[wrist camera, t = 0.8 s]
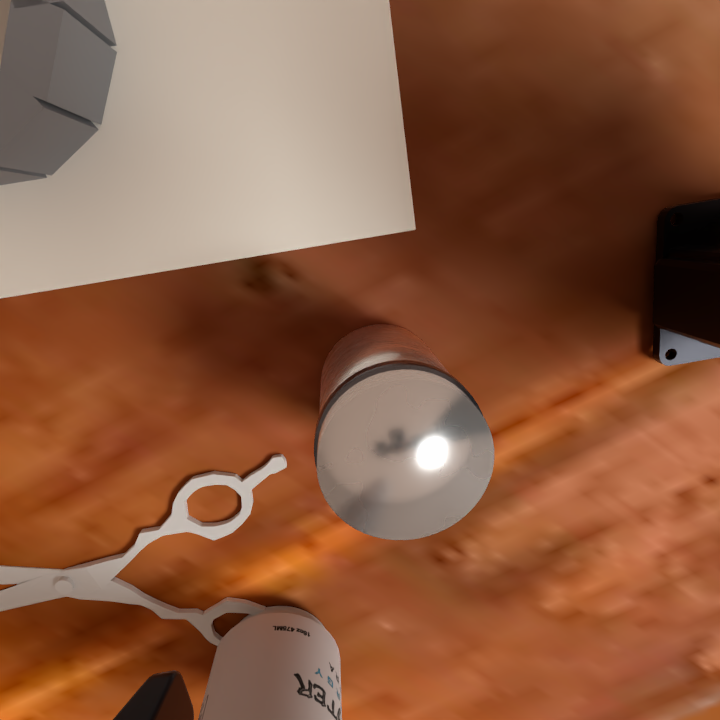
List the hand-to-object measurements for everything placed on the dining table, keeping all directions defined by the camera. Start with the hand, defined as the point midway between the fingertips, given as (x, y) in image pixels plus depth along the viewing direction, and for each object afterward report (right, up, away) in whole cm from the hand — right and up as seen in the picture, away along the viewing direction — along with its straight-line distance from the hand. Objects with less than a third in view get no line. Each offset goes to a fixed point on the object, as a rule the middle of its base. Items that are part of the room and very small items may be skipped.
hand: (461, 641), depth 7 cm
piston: (-1, +4, +12) cm, 13 cm away
